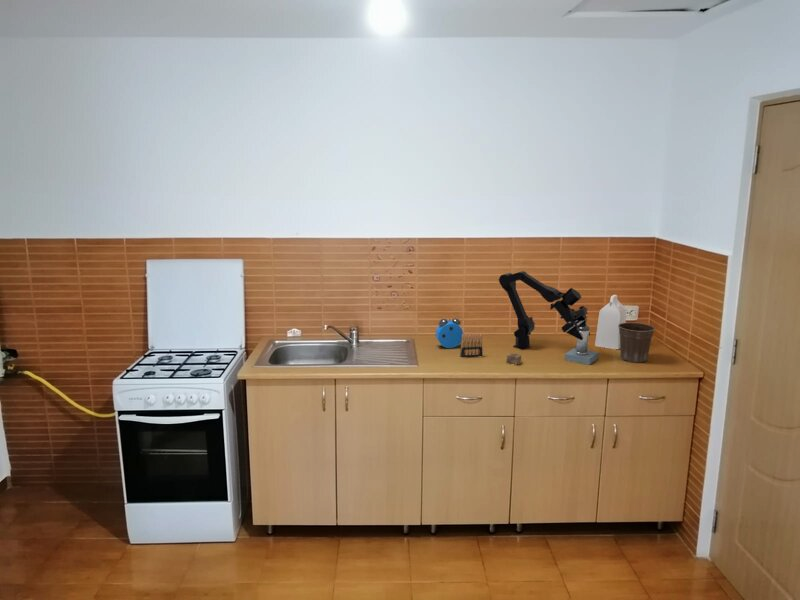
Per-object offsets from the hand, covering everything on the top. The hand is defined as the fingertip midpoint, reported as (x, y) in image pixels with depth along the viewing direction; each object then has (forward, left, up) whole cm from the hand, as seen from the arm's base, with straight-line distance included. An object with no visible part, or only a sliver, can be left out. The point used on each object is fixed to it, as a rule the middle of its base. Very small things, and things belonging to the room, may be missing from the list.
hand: (586, 337), depth 285 cm
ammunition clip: (-36, -39, -11) cm, 55 cm away
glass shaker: (-1, 0, -8) cm, 8 cm away
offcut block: (-17, -30, -11) cm, 37 cm away
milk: (-6, +31, -11) cm, 33 cm away
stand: (-1, 0, -11) cm, 11 cm away
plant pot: (+14, +20, -11) cm, 26 cm away
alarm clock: (-54, -37, -11) cm, 67 cm away
